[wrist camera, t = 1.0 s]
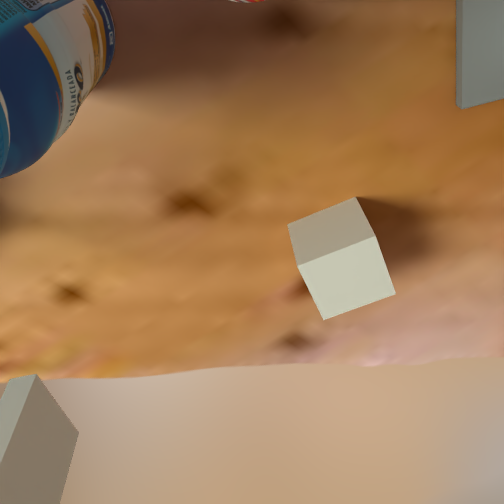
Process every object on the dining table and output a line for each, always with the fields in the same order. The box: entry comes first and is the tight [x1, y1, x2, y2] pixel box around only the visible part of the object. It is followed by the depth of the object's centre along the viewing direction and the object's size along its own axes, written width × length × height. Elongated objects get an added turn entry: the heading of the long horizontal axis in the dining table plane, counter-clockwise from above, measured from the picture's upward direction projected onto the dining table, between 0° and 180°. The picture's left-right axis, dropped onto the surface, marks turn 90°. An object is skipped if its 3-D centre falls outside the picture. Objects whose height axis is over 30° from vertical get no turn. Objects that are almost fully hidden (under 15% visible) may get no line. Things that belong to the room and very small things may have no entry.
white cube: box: [287, 197, 396, 320], centre depth 38 cm, size 6×6×6 cm
